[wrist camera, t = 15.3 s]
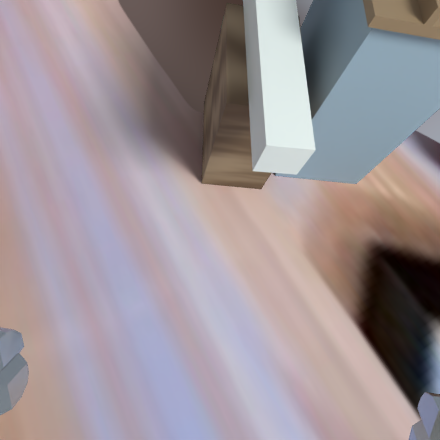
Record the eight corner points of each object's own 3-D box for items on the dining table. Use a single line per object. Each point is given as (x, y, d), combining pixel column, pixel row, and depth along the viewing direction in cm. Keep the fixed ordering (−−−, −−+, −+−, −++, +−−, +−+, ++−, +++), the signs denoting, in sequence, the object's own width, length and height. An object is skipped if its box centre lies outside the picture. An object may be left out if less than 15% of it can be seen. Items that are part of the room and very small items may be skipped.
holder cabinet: (363, 190, 54) (554, 29, 29) (268, 181, 52) (387, -3, 27) (349, 100, 60) (497, -98, 35) (264, 87, 58) (357, -134, 33)
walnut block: (261, 189, 51) (308, 113, 36) (201, 183, 50) (226, 102, 35) (258, 109, 56) (299, 15, 41) (204, 102, 55) (226, 2, 40)
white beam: (296, 174, 33) (315, 150, 30) (252, 171, 33) (266, 145, 29) (276, -15, 43) (289, -52, 39) (241, -21, 42) (251, -59, 38)
